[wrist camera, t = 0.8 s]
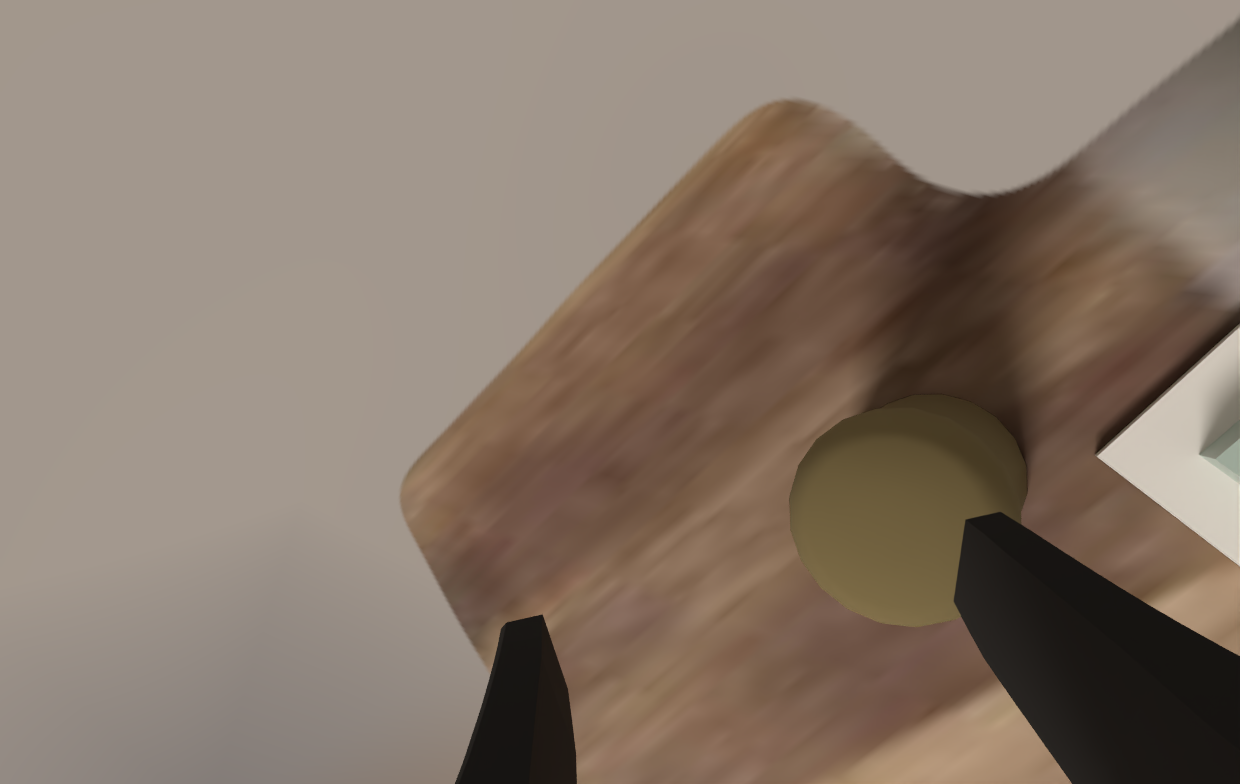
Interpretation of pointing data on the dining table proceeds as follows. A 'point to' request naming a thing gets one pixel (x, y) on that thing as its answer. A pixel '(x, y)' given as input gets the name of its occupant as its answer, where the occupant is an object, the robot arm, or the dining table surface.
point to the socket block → (1191, 448)
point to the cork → (902, 504)
